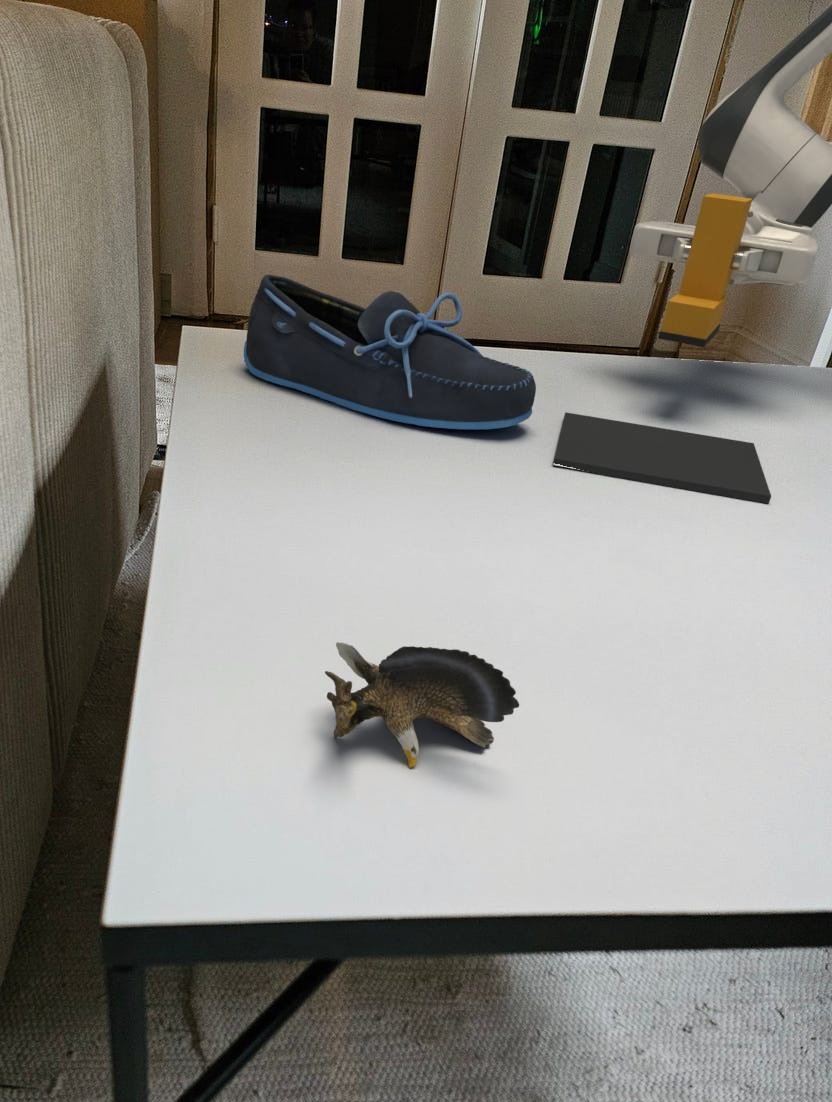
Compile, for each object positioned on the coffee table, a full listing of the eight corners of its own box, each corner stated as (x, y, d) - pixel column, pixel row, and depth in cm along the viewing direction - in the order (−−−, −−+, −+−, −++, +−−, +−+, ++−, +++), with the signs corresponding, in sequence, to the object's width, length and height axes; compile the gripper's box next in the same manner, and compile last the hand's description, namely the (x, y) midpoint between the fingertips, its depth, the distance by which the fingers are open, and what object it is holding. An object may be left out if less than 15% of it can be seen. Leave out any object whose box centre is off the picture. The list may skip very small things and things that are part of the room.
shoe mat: (751, 450, 100) (753, 443, 100) (768, 504, 87) (771, 496, 86) (563, 419, 104) (565, 412, 103) (552, 466, 90) (554, 458, 90)
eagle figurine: (354, 791, 45) (532, 751, 46) (325, 645, 45) (504, 609, 46) (336, 771, 53) (489, 738, 54) (312, 646, 53) (465, 616, 54)
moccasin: (505, 455, 92) (527, 332, 86) (203, 384, 103) (204, 271, 97) (542, 419, 103) (564, 308, 97) (265, 359, 114) (270, 256, 108)
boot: (675, 323, 111) (708, 192, 103) (718, 331, 109) (755, 198, 102) (657, 338, 103) (692, 198, 95) (704, 347, 101) (743, 205, 94)
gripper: (650, 204, 116) (624, 213, 105) (827, 229, 108) (819, 240, 98) (637, 259, 119) (611, 272, 108) (808, 286, 112) (799, 303, 101)
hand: (711, 257), depth 103 cm, fingers closed on boot, 4 cm apart
